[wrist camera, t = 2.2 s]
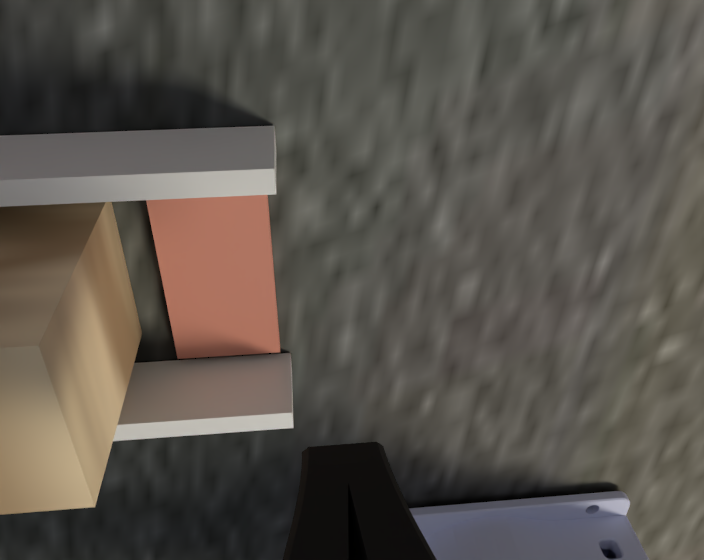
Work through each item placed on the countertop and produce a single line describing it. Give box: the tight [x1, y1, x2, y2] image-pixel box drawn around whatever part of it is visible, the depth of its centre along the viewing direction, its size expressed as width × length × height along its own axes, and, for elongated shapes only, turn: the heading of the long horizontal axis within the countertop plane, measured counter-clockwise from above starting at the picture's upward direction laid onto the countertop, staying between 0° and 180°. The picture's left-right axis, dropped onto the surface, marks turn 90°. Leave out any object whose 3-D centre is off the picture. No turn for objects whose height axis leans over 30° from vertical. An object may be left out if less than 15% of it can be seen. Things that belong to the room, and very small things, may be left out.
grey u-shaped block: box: [0, 126, 294, 441], centre depth 16 cm, size 13×8×2 cm, turn 90°
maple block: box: [0, 202, 142, 515], centre depth 15 cm, size 4×4×6 cm
